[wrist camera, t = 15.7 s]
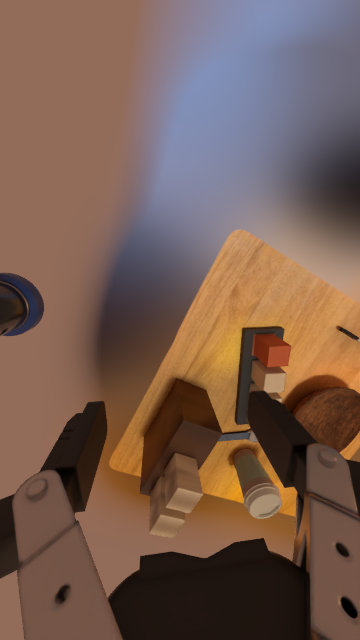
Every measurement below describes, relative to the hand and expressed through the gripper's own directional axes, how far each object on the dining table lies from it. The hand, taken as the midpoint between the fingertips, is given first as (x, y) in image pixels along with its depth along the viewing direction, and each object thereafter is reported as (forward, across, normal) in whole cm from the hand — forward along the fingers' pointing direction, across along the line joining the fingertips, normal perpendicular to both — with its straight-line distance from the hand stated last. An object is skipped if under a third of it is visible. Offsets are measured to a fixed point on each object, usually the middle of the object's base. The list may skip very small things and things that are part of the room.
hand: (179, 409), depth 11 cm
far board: (+32, -22, +19) cm, 43 cm away
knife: (+32, -47, +11) cm, 58 cm away
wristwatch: (+32, -23, +36) cm, 53 cm away
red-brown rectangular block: (+30, -22, +10) cm, 39 cm away
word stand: (+32, -2, +28) cm, 43 cm away
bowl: (+32, -39, +31) cm, 59 cm away
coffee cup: (+32, -21, +44) cm, 58 cm away
